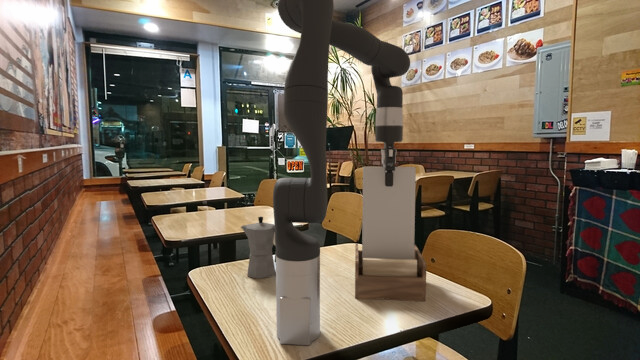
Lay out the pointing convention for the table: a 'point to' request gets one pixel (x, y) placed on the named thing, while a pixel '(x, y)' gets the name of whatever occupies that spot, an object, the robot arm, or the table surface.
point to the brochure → (388, 214)
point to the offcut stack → (390, 267)
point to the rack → (390, 282)
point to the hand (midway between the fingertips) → (388, 184)
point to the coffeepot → (260, 249)
